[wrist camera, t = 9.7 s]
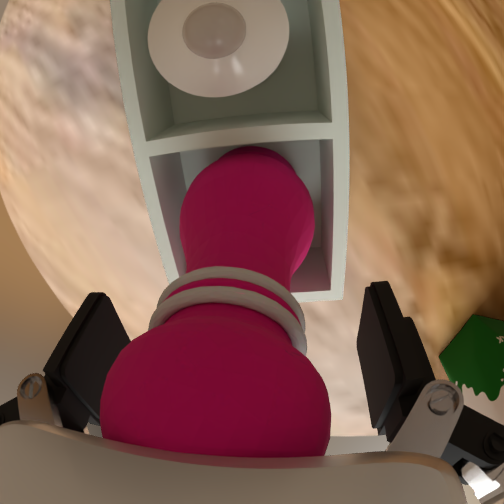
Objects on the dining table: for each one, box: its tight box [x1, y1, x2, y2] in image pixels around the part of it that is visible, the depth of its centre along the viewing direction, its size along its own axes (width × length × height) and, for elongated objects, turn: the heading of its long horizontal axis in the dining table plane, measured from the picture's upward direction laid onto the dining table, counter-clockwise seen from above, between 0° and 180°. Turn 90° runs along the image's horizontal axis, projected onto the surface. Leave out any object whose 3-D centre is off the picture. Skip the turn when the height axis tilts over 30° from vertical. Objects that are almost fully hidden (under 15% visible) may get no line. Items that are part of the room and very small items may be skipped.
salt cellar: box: [148, 0, 289, 97], centre depth 12 cm, size 6×6×8 cm
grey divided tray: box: [110, 0, 349, 302], centre depth 16 cm, size 20×11×6 cm, turn 6°
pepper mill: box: [100, 146, 331, 458], centre depth 12 cm, size 7×7×20 cm
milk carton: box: [439, 314, 504, 492], centre depth 21 cm, size 9×9×20 cm
